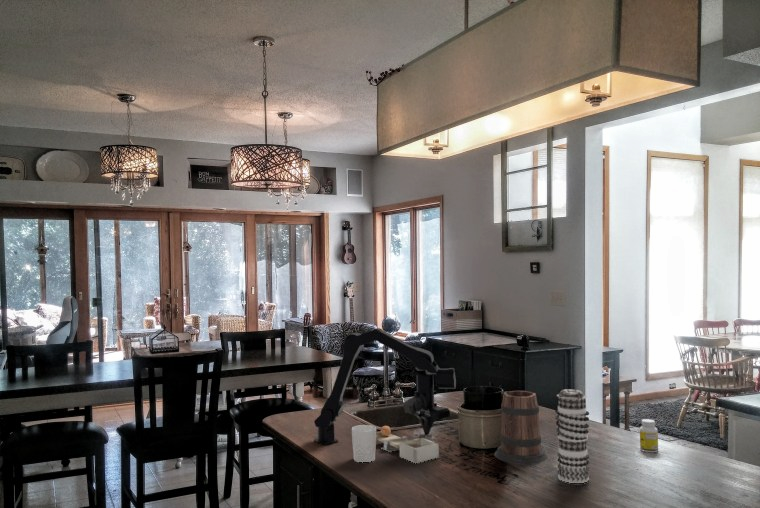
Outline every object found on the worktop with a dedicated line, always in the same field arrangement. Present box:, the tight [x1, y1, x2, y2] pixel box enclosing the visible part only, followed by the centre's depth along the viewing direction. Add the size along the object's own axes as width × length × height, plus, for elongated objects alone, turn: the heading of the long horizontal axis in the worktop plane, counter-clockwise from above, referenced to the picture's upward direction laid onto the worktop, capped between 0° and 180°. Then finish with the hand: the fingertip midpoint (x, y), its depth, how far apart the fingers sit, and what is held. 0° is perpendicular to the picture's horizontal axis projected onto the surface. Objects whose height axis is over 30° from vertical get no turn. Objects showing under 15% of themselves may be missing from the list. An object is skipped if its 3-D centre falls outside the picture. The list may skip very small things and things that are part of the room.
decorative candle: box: [554, 388, 590, 484], centre depth 168 cm, size 9×9×25 cm
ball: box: [380, 425, 392, 436], centre depth 203 cm, size 4×4×4 cm
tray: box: [399, 438, 440, 465], centre depth 188 cm, size 8×10×4 cm
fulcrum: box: [380, 435, 408, 453], centre depth 198 cm, size 5×9×3 cm, turn 125°
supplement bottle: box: [639, 418, 659, 453], centre depth 192 cm, size 5×5×10 cm
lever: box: [376, 431, 436, 449], centre depth 201 cm, size 16×15×2 cm
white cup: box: [351, 424, 377, 464], centre depth 187 cm, size 8×8×10 cm
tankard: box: [493, 390, 549, 465], centre depth 192 cm, size 24×17×20 cm
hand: (426, 434), depth 199 cm, fingers closed, pressing on lever
